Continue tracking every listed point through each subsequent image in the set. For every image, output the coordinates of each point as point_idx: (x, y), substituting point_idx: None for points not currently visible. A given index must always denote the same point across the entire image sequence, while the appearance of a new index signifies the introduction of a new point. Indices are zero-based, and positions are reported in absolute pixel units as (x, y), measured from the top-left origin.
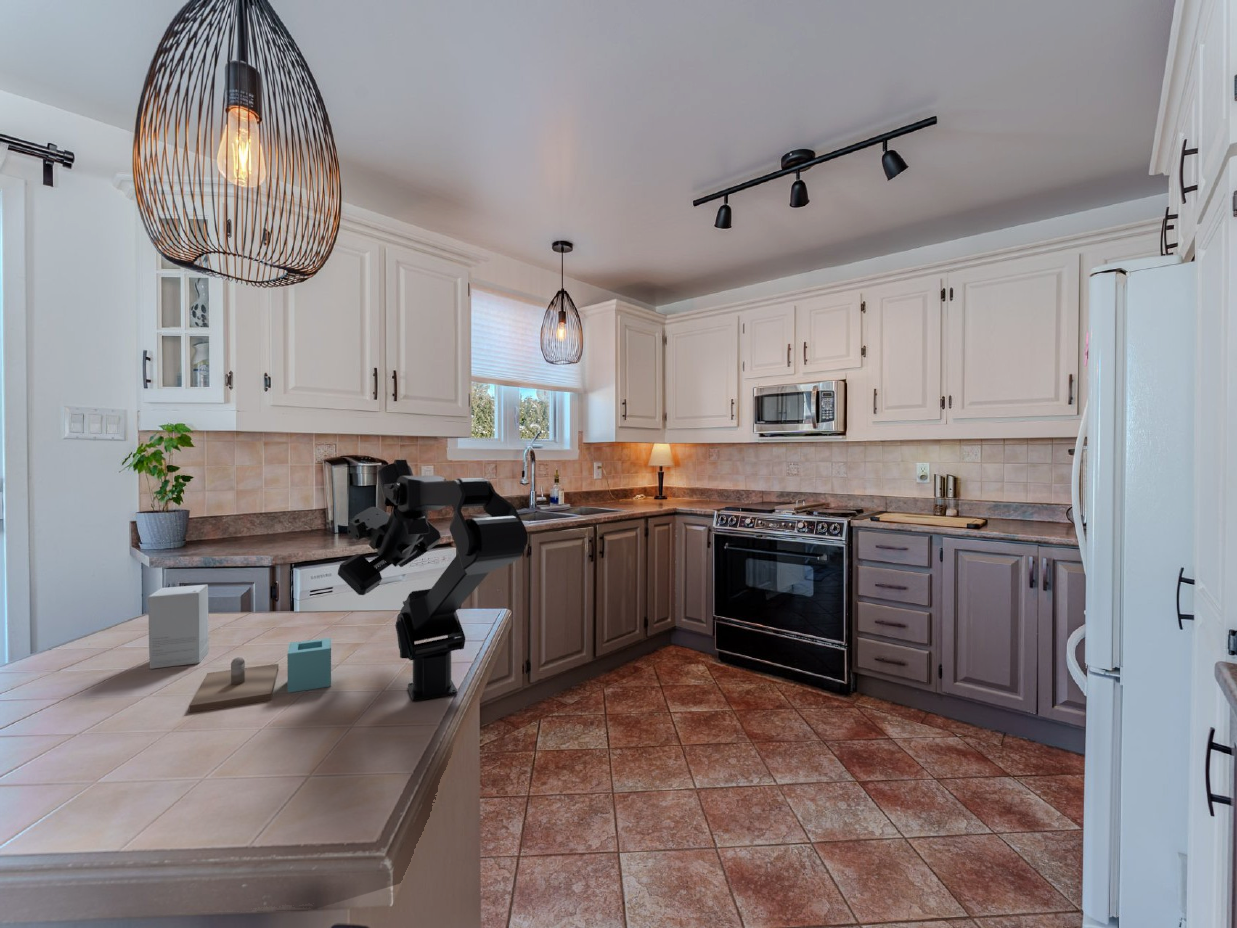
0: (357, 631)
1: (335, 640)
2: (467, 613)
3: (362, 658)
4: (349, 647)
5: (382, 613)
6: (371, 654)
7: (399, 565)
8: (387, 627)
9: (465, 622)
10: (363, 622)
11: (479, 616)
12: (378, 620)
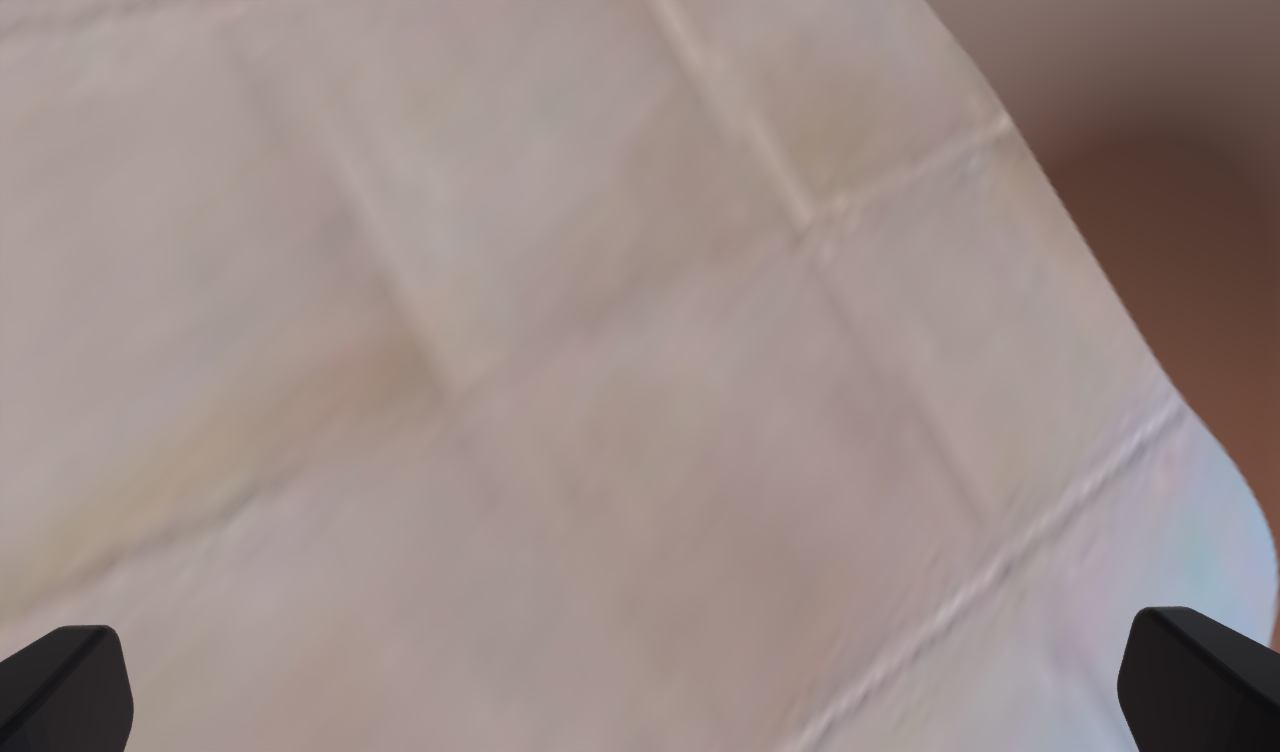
0: (612, 153)
1: (388, 151)
2: (1216, 545)
3: None
4: (308, 377)
5: (922, 49)
6: (245, 711)
7: (1129, 665)
8: (773, 280)
9: None
10: (755, 59)
11: None
12: (830, 120)
